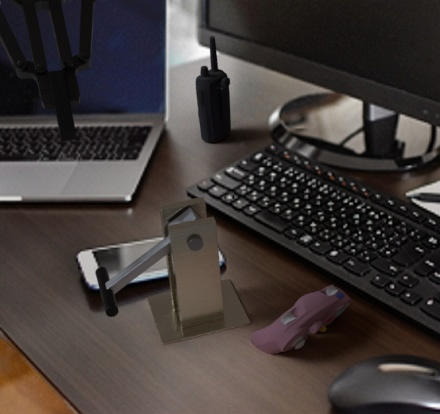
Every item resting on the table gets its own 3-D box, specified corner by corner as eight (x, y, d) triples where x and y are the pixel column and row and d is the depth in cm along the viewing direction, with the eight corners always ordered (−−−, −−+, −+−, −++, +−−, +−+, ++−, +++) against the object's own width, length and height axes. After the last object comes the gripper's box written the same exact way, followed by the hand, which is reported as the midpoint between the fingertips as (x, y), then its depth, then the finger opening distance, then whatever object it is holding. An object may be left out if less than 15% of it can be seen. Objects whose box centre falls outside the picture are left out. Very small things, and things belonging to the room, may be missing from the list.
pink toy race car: (273, 378, 81) (294, 343, 76) (243, 343, 82) (262, 306, 77) (341, 330, 87) (366, 295, 82) (313, 298, 88) (335, 261, 83)
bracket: (163, 352, 82) (148, 244, 75) (147, 306, 88) (132, 202, 82) (251, 331, 85) (244, 224, 78) (229, 287, 91) (221, 185, 85)
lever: (115, 323, 79) (98, 308, 78) (104, 282, 85) (88, 267, 83) (216, 246, 79) (202, 230, 77) (198, 210, 84) (184, 195, 83)
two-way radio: (218, 127, 126) (211, 30, 118) (243, 133, 124) (237, 36, 116) (195, 141, 122) (186, 42, 114) (220, 148, 120) (212, 48, 112)
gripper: (-46, -88, 83) (-5, 133, 78) (87, -99, 87) (135, 111, 82) (-35, -47, 90) (4, 159, 85) (88, -58, 94) (132, 138, 89)
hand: (68, 135), depth 83 cm, fingers closed
